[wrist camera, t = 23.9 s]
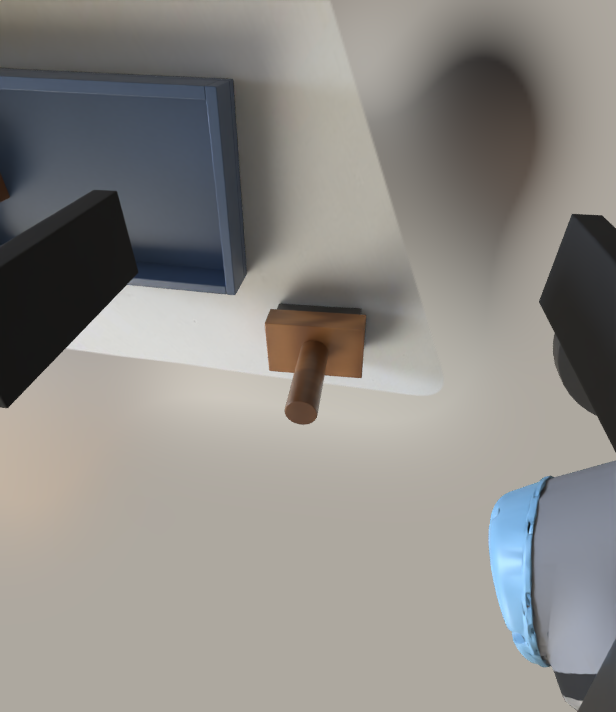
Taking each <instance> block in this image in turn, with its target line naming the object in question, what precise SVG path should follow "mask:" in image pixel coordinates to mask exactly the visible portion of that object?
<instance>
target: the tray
mask: <svg viewBox="0 0 616 712" xmlns="http://www.w3.org/2000/svg"><path fill="white" fill-rule="evenodd" d="M0 173H1V175H2V178H3V181H4V183H5V186H6V188H7V191H8V193H9V196H10V198H8V199H6V200H4V201H2V202H0V246H1V245H3V244H4V243H6V242H8V241H9V240H11V239H13V238H14V237H16V236H17V235H19V234H21V233H22V232H24V231H26V230H27V229H29V228H31V227H32V226H34V225H36V224H37V223H39V222H41V221H42V220H44V219H46V218H47V217H49V216H51V215H52V214H54V213H56V212H57V211H59V210H61V209H62V208H64V207H66V206H67V205H69V204H71V203H72V202H74V201H76V200H77V199H79V198H81V197H82V196H84V195H86V194H87V193H89V192H91V191H92V190H109V191H117V192H118V196H119V200H120V204H121V208H122V211H123V215H124V219H125V223H126V227H127V230H128V234H129V238H130V242H131V246H132V249H133V253H134V257H135V261H136V265H137V268H138V272H139V273H138V274H137V275H136V276H135V277H134V278H133V279H132V280H131V281H130V282H129V283H128V284H127V285H135V286H146V287H156V288H166V289H176V290H187V291H197V292H207V293H218V294H228V295H236V293H237V291H238V289H239V287H240V285H241V284H242V282H243V280H244V278H245V276H246V274H247V270H246V256H245V242H244V227H243V213H242V199H241V185H240V171H239V156H238V142H237V128H236V114H235V100H234V86H233V79H220V78H199V77H178V76H156V75H135V74H113V73H92V72H70V71H49V70H28V69H6V68H0Z"/></svg>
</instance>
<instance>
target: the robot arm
mask: <svg viewBox="0 0 616 712" xmlns="http://www.w3.org/2000/svg"><path fill="white" fill-rule="evenodd" d="M138 273H139V272H138V268H137V265H136V261H135V257H134V253H133V249H132V246H131V242H130V238H129V234H128V230H127V227H126V223H125V219H124V215H123V211H122V208H121V204H120V200H119V196H118V192H117V191H109V190H92V191H91V192H89V193H87V194H86V195H84V196H82V197H81V198H79V199H77V200H76V201H74V202H72V203H71V204H69V205H67V206H66V207H64V208H62V209H61V210H59V211H57V212H56V213H54V214H52V215H51V216H49V217H47V218H46V219H44V220H42V221H41V222H39V223H37V224H36V225H34V226H32V227H31V228H29V229H27V230H26V231H24V232H22V233H21V234H19V235H17V236H16V237H14V238H13V239H11V240H9V241H8V242H6V243H4V244H3V245H1V246H0V407H2V408H8V407H9V406H10V405H11V404H12V403H13V402H14V401H15V400H16V399H17V398H18V397H19V396H20V395H21V394H22V393H23V392H24V391H25V390H26V388H27V387H29V386H30V385H31V383H32V382H33V381H34V380H35V379H36V378H37V377H38V376H39V375H40V374H41V373H42V372H43V371H44V370H45V369H46V368H47V367H48V366H49V365H50V364H51V363H52V362H53V361H54V360H55V359H56V357H58V355H59V354H60V353H61V352H62V351H63V350H64V349H65V348H66V347H67V346H68V345H69V344H70V343H71V342H72V341H73V340H74V339H75V338H76V337H77V336H78V335H79V334H80V333H81V332H82V331H83V330H84V329H85V328H86V326H87V325H88V324H89V323H90V322H91V321H92V320H93V319H94V318H95V317H96V316H97V315H98V314H99V313H100V312H101V311H102V310H103V309H104V308H105V307H106V306H107V305H108V304H109V303H110V302H111V301H112V300H113V298H114V297H115V296H116V295H117V294H118V293H119V292H120V291H121V290H122V289H123V288H124V287H125V286H126V285H127V284H128V283H129V282H130V281H131V280H132V279H133V278H134V277H135V276H136V275H137V274H138ZM539 303H540V305H541V306H542V309H543V311H544V313H545V314H546V317H547V318H548V320H549V322H550V324H551V326H552V328H553V330H554V332H555V334H556V336H557V338H558V340H559V342H560V344H561V346H562V348H563V350H564V352H565V354H566V356H567V358H568V360H569V362H570V364H571V366H572V368H573V369H574V371H575V373H576V375H577V377H578V379H579V381H580V383H581V385H582V387H583V389H584V391H585V393H586V395H587V397H588V399H589V401H590V403H591V405H592V407H593V409H594V411H595V413H596V415H597V416H598V418H599V420H600V422H601V424H602V426H603V428H604V430H605V432H606V434H607V436H608V438H609V440H610V442H611V444H612V446H613V448H614V450H615V452H616V228H615V227H614V226H613V225H611V224H610V223H609V222H608V221H607V220H606V219H605V218H604V217H603V216H602V215H582V214H581V215H580V214H572V215H571V218H570V221H569V223H568V226H567V229H566V231H565V234H564V237H563V239H562V242H561V245H560V247H559V250H558V253H557V255H556V258H555V261H554V263H553V266H552V269H551V271H550V274H549V277H548V279H547V282H546V284H545V287H544V290H543V292H542V295H541V298H540V301H539ZM489 554H490V562H491V570H492V575H493V581H494V585H495V590H496V594H497V598H498V601H499V605H500V609H501V612H502V615H503V618H504V621H505V623H506V625H507V628H508V629H509V630H511V631H512V636H513V641H514V643H515V645H516V647H517V648H518V650H519V651H520V653H521V654H522V655H523V656H524V657H525V658H526V659H527V660H529V661H530V662H532V663H535V664H539V665H540V666H542V667H549V666H552V668H553V670H554V673H555V676H556V679H557V682H558V684H559V687H560V690H561V693H562V695H563V698H564V700H565V701H566V702H567V703H568V704H569V705H570V706H572V707H573V708H574V709H575V710H577V712H616V461H612V462H609V463H605V464H601V465H598V466H594V467H591V468H587V469H583V470H580V471H577V472H572V473H569V474H566V475H562V476H558V477H552V476H547V477H544V478H542V479H541V480H540V482H537V483H534V484H531V485H528V486H525V487H523V488H520V489H517V490H514V491H511V492H509V493H507V494H505V495H503V496H502V497H501V498H500V499H499V500H498V501H497V503H496V504H495V506H494V508H493V511H492V514H491V519H490V526H489Z"/></svg>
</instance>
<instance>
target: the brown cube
mask: <svg viewBox="0 0 616 712" xmlns="http://www.w3.org/2000/svg"><path fill="white" fill-rule="evenodd" d="M8 198H10V196H9V193H8V191H7V188H6V186H5V183H4V181H3V178H2V175H1V173H0V202H2V201H4V200H6V199H8Z"/></svg>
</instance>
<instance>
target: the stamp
mask: <svg viewBox="0 0 616 712" xmlns="http://www.w3.org/2000/svg"><path fill="white" fill-rule="evenodd" d="M365 326H366V315H361V309H358V308H341V307H324V306H307V305H291V304H279V305H278V308H277V309H270V312H269V314H268V317H267V319H266V322H265V331H266V341H267V352H268V362H269V371H278V372H291V373H294V376H293V380H292V384H291V387H290V391H289V395H288V399H287V402H286V406H285V414H286V416H287V418H288V419H289V420H291V421H292V422H294V423H297V424H310V423H312V422H313V421H315V419H316V418H317V413H318V408H319V403H320V397H321V392H322V386H323V381H324V375H329V376H341V377H354V378H362V367H363V353H364V339H365Z"/></svg>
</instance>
